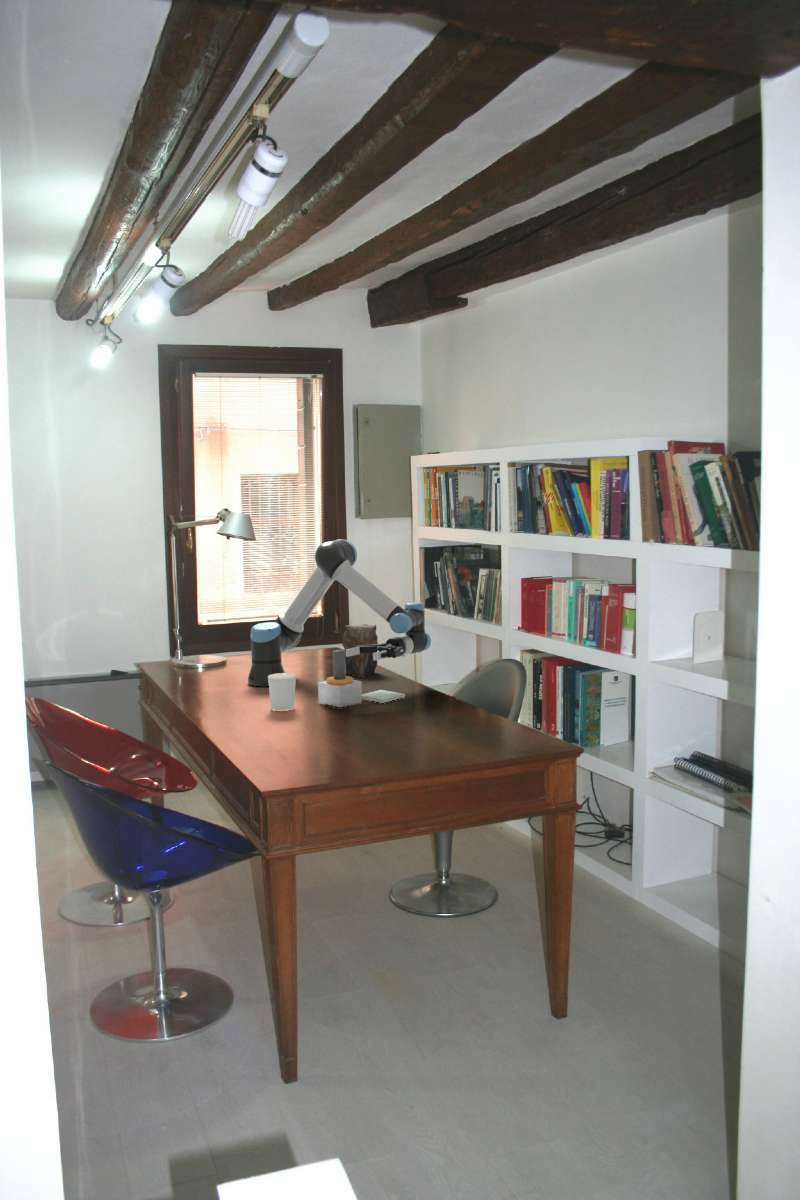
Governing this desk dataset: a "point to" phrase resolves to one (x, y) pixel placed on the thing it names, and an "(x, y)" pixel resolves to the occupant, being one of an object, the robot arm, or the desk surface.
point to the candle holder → (282, 690)
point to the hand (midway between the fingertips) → (359, 654)
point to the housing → (340, 693)
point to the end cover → (339, 669)
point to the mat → (382, 696)
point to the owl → (363, 661)
